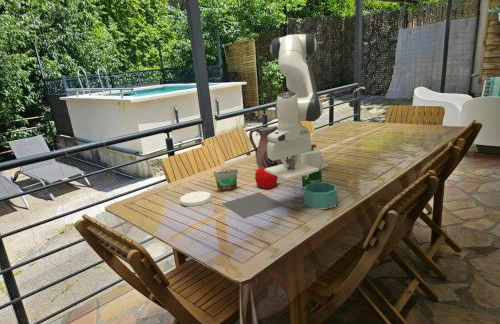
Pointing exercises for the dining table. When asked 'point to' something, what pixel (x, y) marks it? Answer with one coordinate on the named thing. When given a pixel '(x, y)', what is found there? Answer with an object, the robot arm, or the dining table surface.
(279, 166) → the cover board
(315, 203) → the teal octagonal bowl
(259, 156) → the ceramic pitcher
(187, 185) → the dining table surface
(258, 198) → the rubber mat
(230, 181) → the food container
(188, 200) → the plastic lid
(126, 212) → the dining table surface
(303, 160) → the milk carton
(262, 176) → the tomato
